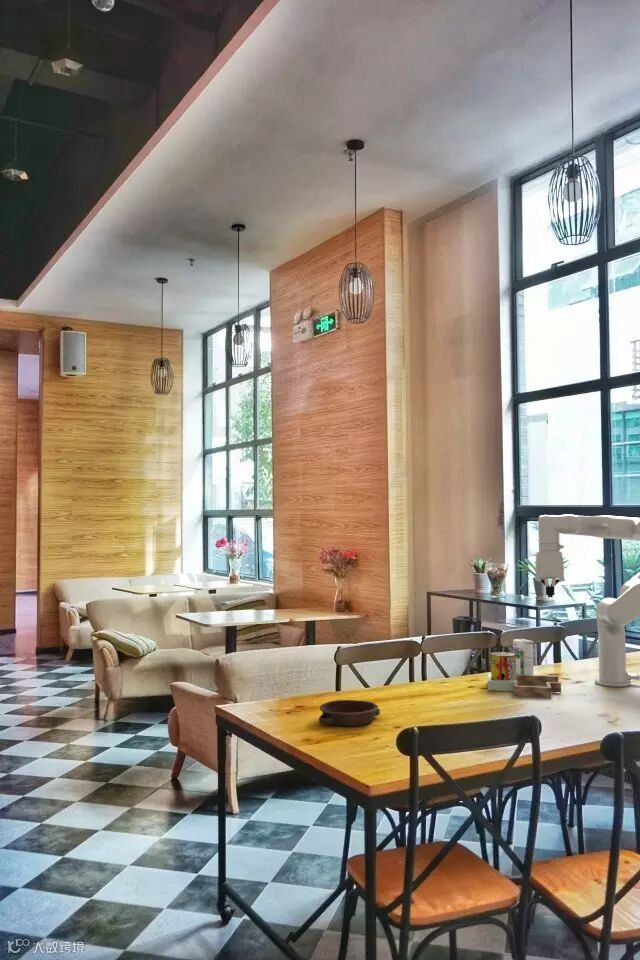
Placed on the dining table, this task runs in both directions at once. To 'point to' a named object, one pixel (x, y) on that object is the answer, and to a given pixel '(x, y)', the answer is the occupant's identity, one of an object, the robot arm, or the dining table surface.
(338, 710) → the dish
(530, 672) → the syrup box
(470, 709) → the dining table surface
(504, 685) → the end bay
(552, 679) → the open walled frame
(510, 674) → the beverage can
